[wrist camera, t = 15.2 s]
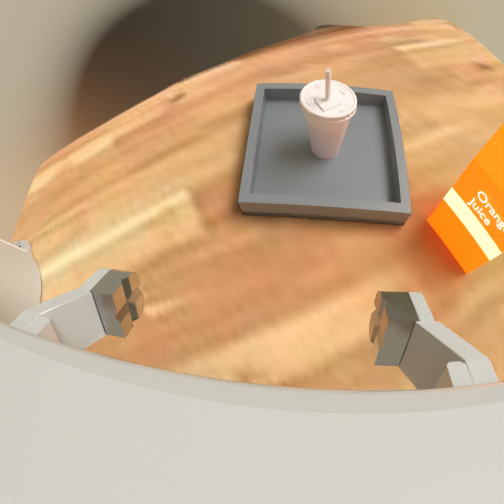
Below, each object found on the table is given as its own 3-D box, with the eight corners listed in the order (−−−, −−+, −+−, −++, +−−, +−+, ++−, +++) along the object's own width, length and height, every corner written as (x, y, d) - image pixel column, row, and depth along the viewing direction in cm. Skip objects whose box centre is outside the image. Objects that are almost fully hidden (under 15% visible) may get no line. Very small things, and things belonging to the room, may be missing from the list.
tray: (243, 214, 40) (238, 202, 36) (260, 99, 46) (257, 83, 42) (403, 225, 36) (411, 213, 33) (388, 106, 42) (392, 91, 39)
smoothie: (295, 160, 40) (289, 80, 27) (308, 125, 41) (306, 45, 28) (343, 173, 38) (356, 94, 25) (353, 136, 40) (365, 57, 27)
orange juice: (459, 191, 36) (528, 95, 17) (497, 242, 33) (587, 167, 14) (425, 220, 36) (498, 119, 17) (465, 275, 33) (567, 207, 14)
